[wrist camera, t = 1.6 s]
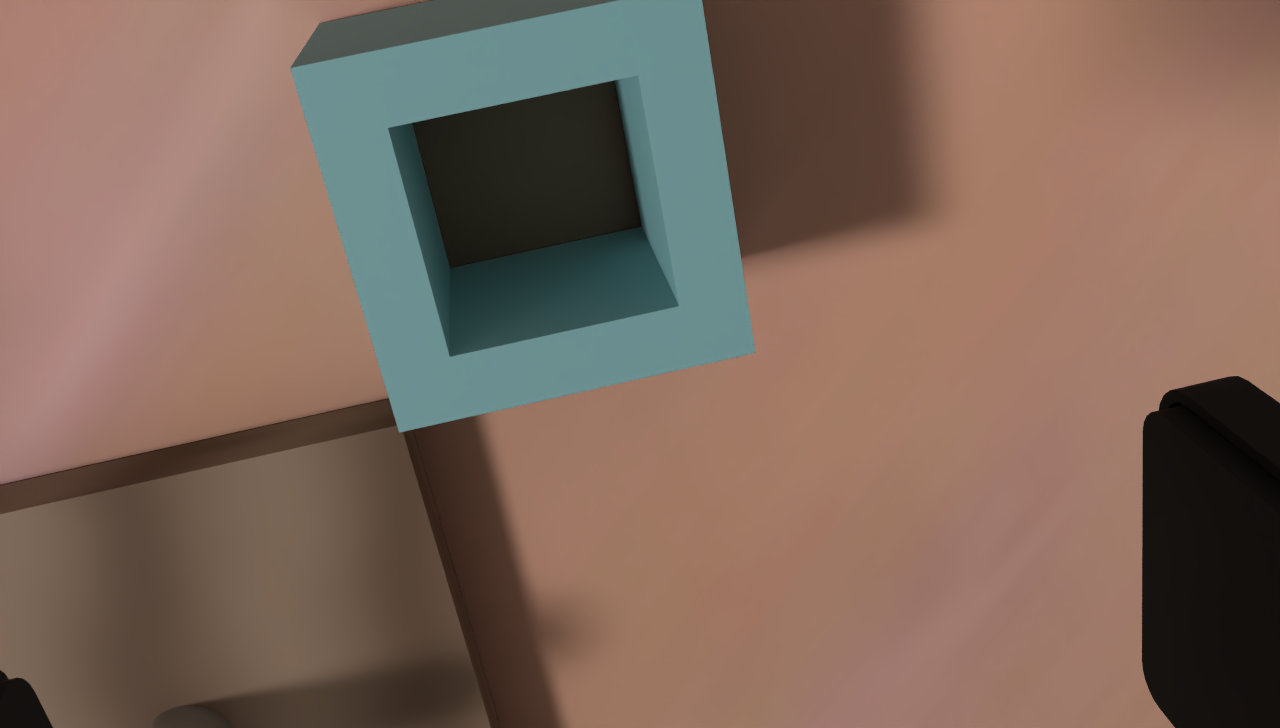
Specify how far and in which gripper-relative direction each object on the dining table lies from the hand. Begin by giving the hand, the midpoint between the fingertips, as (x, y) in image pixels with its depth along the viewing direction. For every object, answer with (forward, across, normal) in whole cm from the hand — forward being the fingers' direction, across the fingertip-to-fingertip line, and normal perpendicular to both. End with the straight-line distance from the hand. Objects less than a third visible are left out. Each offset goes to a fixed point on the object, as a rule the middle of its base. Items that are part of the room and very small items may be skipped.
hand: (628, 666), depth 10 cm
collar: (+18, 0, 0) cm, 18 cm away
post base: (+18, +11, +12) cm, 24 cm away
